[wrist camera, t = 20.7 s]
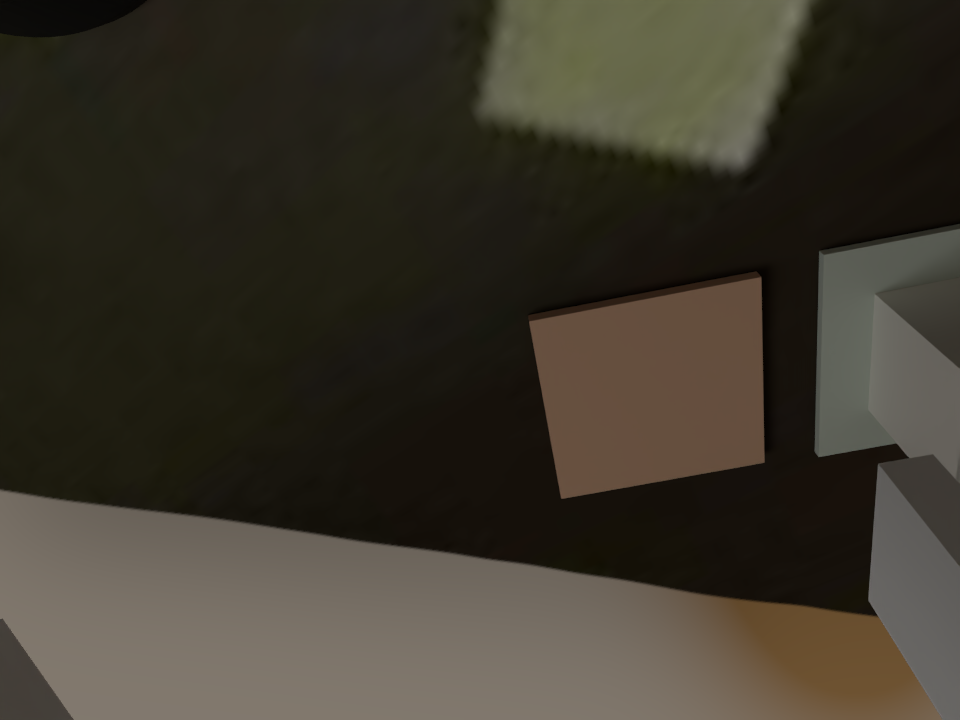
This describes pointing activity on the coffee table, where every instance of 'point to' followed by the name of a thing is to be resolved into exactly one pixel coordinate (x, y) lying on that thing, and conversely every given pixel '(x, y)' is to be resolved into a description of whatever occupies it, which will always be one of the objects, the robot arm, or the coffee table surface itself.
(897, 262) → the mat
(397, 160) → the coffee table surface
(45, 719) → the robot arm
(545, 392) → the thin square tile
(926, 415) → the white box
